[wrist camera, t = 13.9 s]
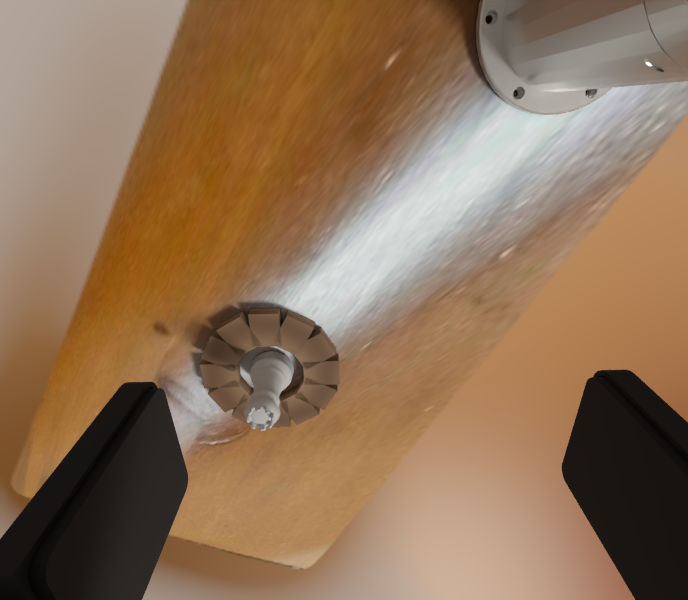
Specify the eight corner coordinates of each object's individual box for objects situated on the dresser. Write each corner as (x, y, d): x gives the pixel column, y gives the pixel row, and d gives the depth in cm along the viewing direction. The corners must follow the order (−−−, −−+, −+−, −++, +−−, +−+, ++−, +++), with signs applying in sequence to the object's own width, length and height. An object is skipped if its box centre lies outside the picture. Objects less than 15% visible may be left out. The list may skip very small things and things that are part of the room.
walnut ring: (337, 306, 39) (336, 312, 38) (340, 417, 45) (340, 425, 44) (193, 310, 39) (189, 315, 38) (216, 421, 45) (212, 428, 44)
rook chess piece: (251, 382, 43) (234, 437, 35) (252, 346, 41) (234, 397, 34) (293, 385, 43) (284, 441, 36) (295, 350, 41) (287, 401, 34)
